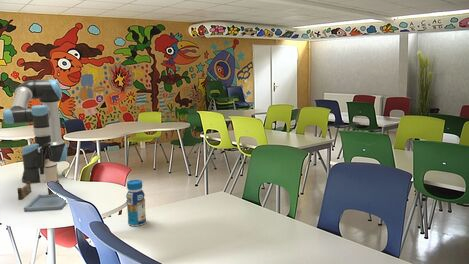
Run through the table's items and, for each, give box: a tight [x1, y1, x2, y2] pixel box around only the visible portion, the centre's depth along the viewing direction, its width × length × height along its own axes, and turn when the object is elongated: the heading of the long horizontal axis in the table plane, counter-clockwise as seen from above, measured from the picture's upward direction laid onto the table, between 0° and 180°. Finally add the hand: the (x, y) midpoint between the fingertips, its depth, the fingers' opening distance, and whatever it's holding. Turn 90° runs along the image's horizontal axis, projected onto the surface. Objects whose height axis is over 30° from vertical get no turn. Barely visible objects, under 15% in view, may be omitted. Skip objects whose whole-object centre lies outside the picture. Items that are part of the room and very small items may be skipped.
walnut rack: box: [16, 179, 60, 201], centre depth 226 cm, size 14×18×6 cm
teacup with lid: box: [39, 159, 59, 184], centre depth 209 cm, size 12×9×12 cm
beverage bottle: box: [125, 179, 147, 227], centre depth 181 cm, size 8×8×20 cm
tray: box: [23, 193, 68, 213], centre depth 211 cm, size 20×18×2 cm
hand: (46, 177), depth 209 cm, fingers closed on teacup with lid, 9 cm apart
